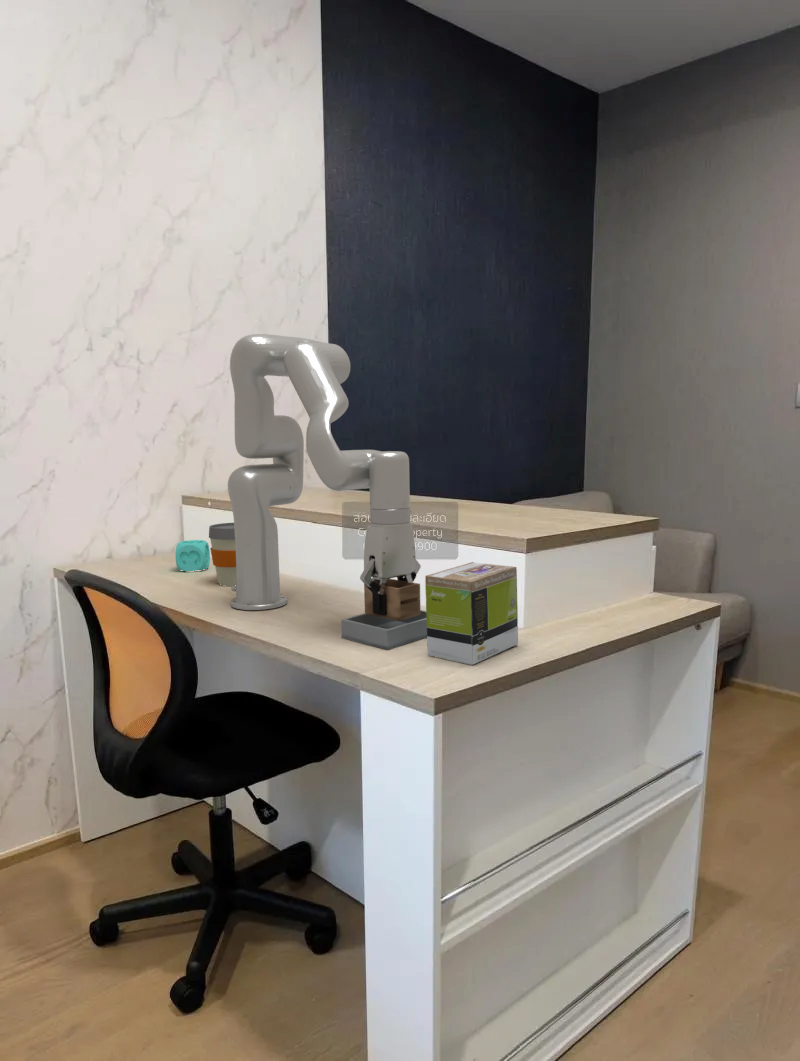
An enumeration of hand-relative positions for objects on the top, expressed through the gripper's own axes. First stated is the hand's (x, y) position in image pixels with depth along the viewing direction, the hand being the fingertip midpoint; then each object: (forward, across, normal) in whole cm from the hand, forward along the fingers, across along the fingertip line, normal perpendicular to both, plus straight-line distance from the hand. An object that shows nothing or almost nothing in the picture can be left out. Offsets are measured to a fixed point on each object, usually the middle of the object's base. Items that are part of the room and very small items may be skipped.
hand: (392, 609), depth 147 cm
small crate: (+1, 0, 0) cm, 1 cm away
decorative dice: (+5, -13, -91) cm, 92 cm away
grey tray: (+5, 0, 0) cm, 5 cm away
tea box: (+5, -2, +18) cm, 19 cm away
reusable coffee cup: (+5, -10, -66) cm, 67 cm away
